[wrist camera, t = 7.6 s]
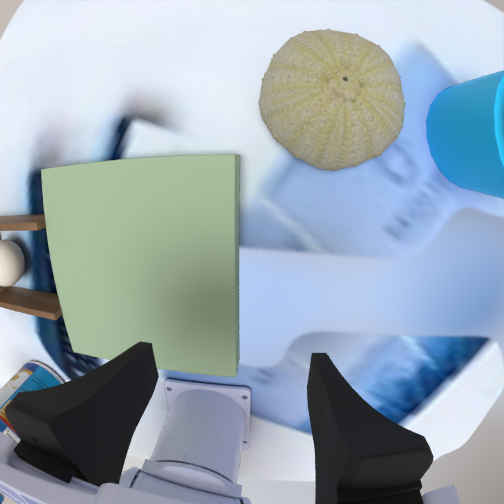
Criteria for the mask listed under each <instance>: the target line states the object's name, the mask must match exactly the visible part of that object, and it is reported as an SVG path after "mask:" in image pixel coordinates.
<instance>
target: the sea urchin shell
mask: <svg viewBox="0 0 504 504" xmlns="http://www.w3.org/2000/svg"><path fill="white" fill-rule="evenodd" d="M405 104H406V103H405V102H404V96H403V92H402V88H401V81H400V75H399V74H398V72H397V70H396V68H395V67H394V64H393V62H392V60H391V58H390V56H389V55H388V54H387V53H386V52H385V51H384V50H383V49H382V48H380V46H379V45H376V44H374V43H373V42H371V41H368V40H366V39H364V38H362V37H360V36H359V35H358V34H351V33H345V32H339V31H333V30H329V29H327V30H316V31H304V32H303V33H300V34H298V35H296V36H294V37H292V38H291V37H290V39H289V40H288V41H287V42H286V43H285V44H284V45H283V46H282V47H281V48H280V50H279V51H278V52H277V53H276V54H274V55H273V58H272V60H271V63H270V66H269V68H268V70H267V72H266V73H265V74H264V78H263V79H262V87H261V95H260V100H259V105H260V111H261V116H262V118H263V121H264V122H265V124H266V125H267V128H269V130H270V132H271V133H272V136H273V138H275V139H276V141H277V142H278V143H280V144H281V145H282V146H284V147H285V148H286V149H287V150H288V151H289V152H290V153H291V154H293V155H294V156H295V158H299V159H301V160H303V161H305V162H307V163H309V164H310V165H312V166H314V167H316V168H318V169H325V170H331V171H334V170H339V169H343V168H348V167H356V166H358V164H361V163H363V162H365V161H368V160H370V159H372V158H374V157H376V156H380V155H381V154H382V152H383V151H384V150H386V149H387V147H388V146H389V145H391V144H392V143H393V142H394V141H395V140H396V139H397V138H398V135H399V133H400V131H401V129H402V128H403V121H404V107H405Z"/></svg>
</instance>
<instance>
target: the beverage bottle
mask: <svg viewBox="0 0 504 504" xmlns="http://www.w3.org/2000/svg"><path fill="white" fill-rule="evenodd" d="M63 383H64V382H63V381H62V379H61V378H60V377H59V376H58V375H57V374H56V373H55V372H53V371H52V370H51V369H50V368H48V367H47V366H45V365H43V364H41V363H39V362H35V361H30V362H27V363H26V364H25V365H24V366H23V367H22V368H21V369H20V370H19V371H18V372H17V373H16V374H15V375H14V376H13V377H12V378H11V379H10V380H9V381H8V382H7V383H6V384H5V385H4V386H3V387H2V388H1V389H0V432H2V433H3V434H5V435H7V436H8V437H10V438H12V439H13V440H14V441H15V442H16V443H17V444H18V443H19V442H20V440H21V439H20V438H19V436H18V435H17V433H16V432H15V430H14V429H13V427H12V426H11V424H10V423H9V421H8V419H7V417H6V414H5V407H6V406H7V405H8V404H9V402H10V401H11V400H12V399H13V398H14V397H15V396H16V395H17V393H18V392H26V391H34V390H40V389H45V388H49V387H53V386H57V385H60V384H63ZM3 500H4V494H3V493H1V492H0V504H2V503H1V502H3Z"/></svg>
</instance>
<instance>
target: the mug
mask: <svg viewBox="0 0 504 504" xmlns="http://www.w3.org/2000/svg"><path fill="white" fill-rule="evenodd" d="M426 122H427V140H428V144H429V148H430V152H431V155H432V157H433V159H434V161H435V163H436V165H437V167H438V169H439V170H440V171H441V172H442V173H443V174H444V176H445V177H446V178H447V179H448V180H449V181H450V182H452V183H454V184H456V185H457V186H459V187H461V188H464V189H469V190H473V191H477V192H481V193H485V194H489V195H492V196H496V197H500V198H504V71H500V72H497V73H493V74H490V75H487V76H483V77H480V78H477V79H474V80H470V81H467V82H464V83H461V84H458V85H455V86H452V87H449V88H447V89H445V90H444V91H442V92H441V93H439V94H438V95H437V96H436V98H435V99H434V101H433V102H432V104H431V105H430V109H429V113H428V117H427V120H426Z"/></svg>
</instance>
